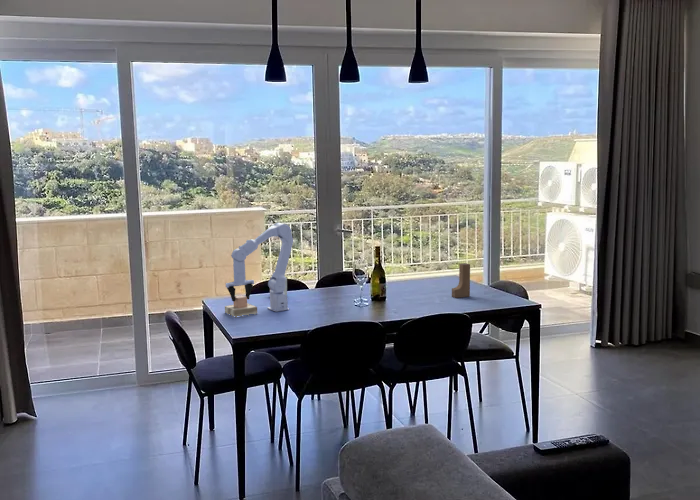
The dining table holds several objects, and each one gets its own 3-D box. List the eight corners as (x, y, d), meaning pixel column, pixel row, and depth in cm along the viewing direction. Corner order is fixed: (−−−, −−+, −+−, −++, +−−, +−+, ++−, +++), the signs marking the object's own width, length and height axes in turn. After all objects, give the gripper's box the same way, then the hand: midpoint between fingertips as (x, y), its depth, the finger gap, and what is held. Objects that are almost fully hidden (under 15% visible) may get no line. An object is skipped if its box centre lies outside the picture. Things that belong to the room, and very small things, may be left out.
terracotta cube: (247, 306, 336) (246, 296, 335) (238, 308, 333) (237, 298, 332) (242, 304, 340) (242, 295, 339) (233, 306, 337) (233, 296, 336)
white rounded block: (269, 295, 377) (269, 277, 375) (275, 293, 381) (274, 275, 380) (281, 297, 373) (281, 278, 371) (287, 295, 378) (286, 276, 376)
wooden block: (455, 298, 364) (455, 265, 361) (451, 296, 368) (451, 264, 365) (470, 296, 367) (470, 264, 364) (466, 295, 371) (466, 262, 368)
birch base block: (257, 314, 336) (257, 307, 335) (235, 318, 329) (235, 310, 328) (246, 310, 345) (246, 302, 345) (225, 313, 339) (224, 306, 338)
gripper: (249, 270, 341) (250, 296, 343) (222, 273, 333) (223, 300, 335) (255, 272, 336) (256, 298, 338) (228, 275, 328) (229, 303, 330)
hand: (240, 299), depth 336 cm, fingers open, 7 cm apart
